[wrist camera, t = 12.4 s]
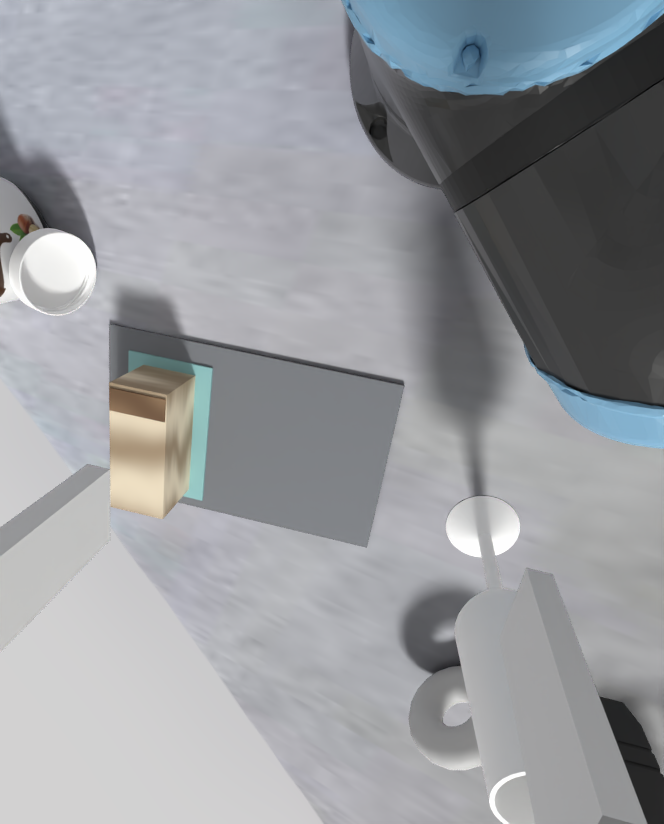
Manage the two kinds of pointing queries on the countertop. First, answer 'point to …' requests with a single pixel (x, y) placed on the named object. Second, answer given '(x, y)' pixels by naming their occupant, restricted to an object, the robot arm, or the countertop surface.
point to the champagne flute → (490, 654)
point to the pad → (199, 414)
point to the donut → (428, 729)
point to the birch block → (150, 439)
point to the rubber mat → (284, 436)
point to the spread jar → (40, 258)
